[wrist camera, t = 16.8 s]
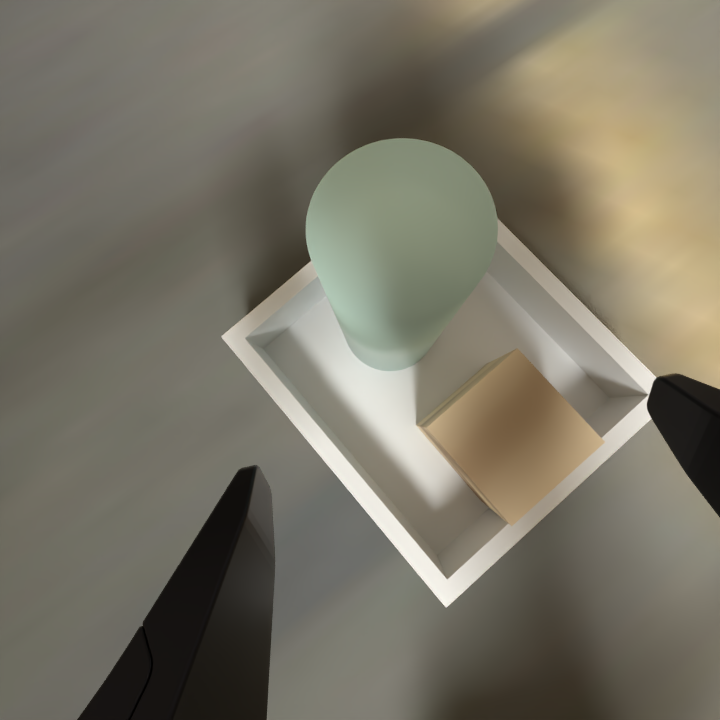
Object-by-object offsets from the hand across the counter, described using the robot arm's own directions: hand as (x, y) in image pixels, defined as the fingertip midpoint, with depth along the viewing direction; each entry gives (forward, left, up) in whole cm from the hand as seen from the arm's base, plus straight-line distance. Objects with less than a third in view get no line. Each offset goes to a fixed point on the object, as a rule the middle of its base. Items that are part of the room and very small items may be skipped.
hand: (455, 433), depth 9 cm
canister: (+5, -3, -13) cm, 14 cm away
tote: (+1, -3, -14) cm, 14 cm away
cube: (-3, -3, -13) cm, 13 cm away
